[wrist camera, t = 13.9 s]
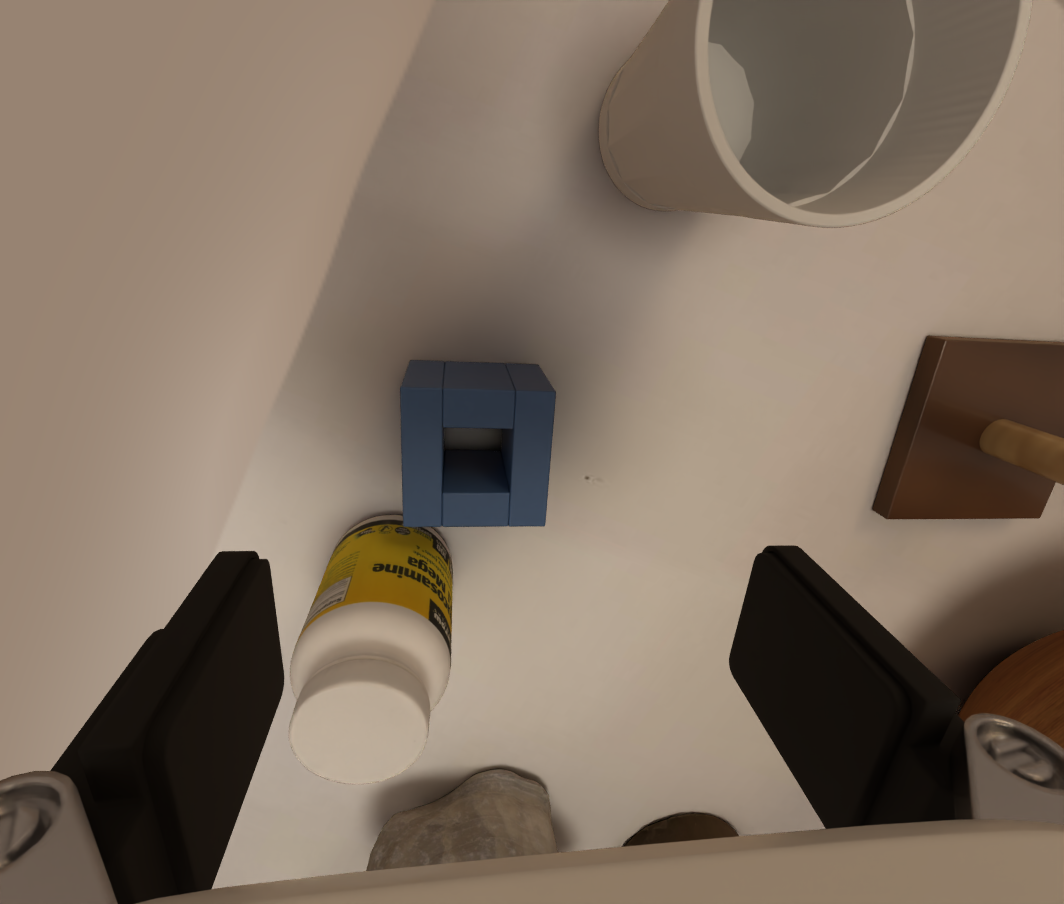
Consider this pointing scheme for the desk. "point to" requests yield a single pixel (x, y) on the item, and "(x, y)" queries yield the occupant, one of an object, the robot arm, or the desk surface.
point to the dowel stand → (978, 432)
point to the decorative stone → (470, 825)
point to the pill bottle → (373, 653)
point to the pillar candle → (683, 830)
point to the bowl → (1026, 688)
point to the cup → (806, 104)
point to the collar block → (475, 475)
